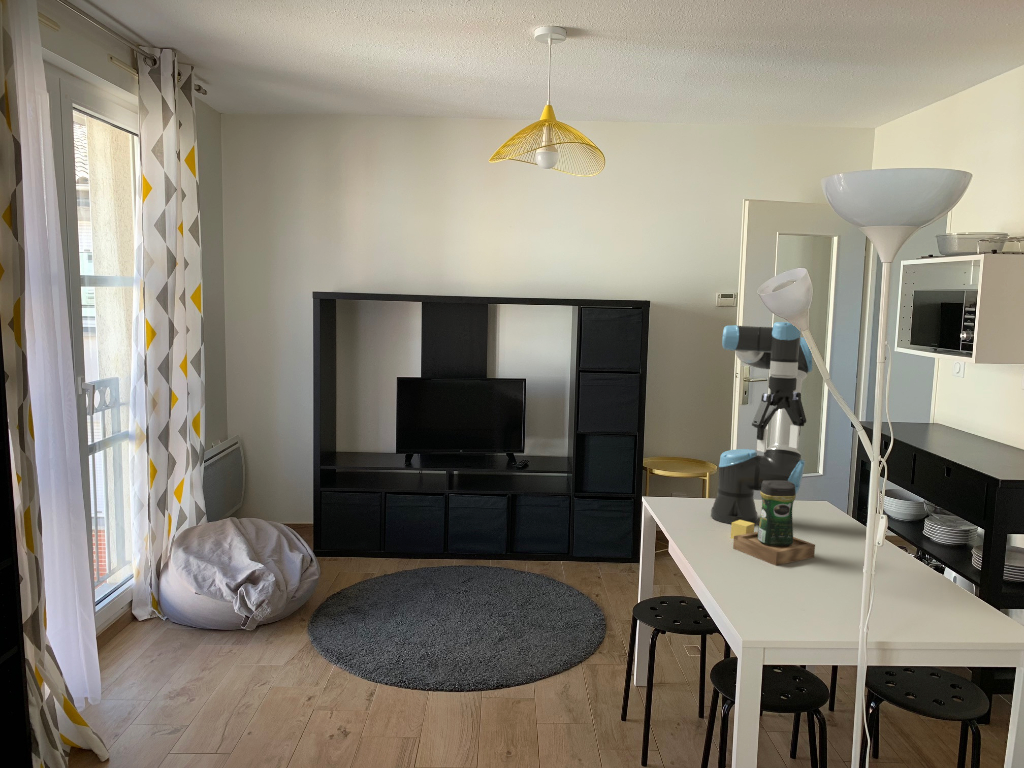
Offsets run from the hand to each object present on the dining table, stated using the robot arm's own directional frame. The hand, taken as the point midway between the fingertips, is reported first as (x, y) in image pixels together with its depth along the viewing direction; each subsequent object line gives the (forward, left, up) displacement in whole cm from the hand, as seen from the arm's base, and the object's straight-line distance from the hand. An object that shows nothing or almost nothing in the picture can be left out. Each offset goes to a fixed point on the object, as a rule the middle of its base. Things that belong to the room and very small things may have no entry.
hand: (777, 449), depth 228 cm
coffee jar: (0, +1, -28) cm, 28 cm away
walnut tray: (0, +1, -31) cm, 31 cm away
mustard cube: (-2, -13, -31) cm, 34 cm away
